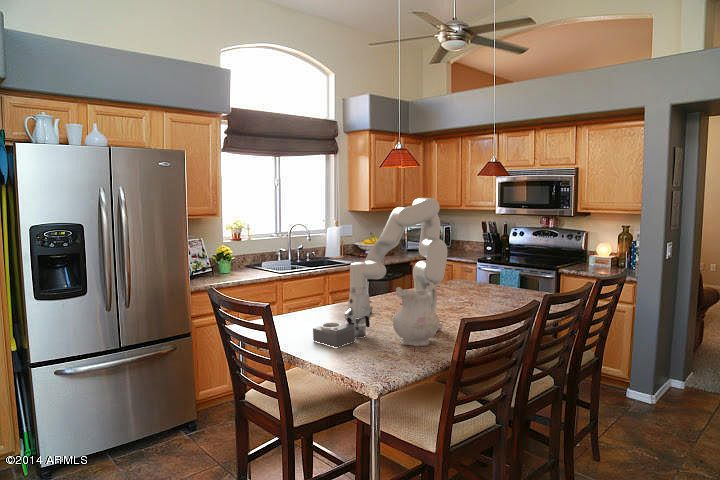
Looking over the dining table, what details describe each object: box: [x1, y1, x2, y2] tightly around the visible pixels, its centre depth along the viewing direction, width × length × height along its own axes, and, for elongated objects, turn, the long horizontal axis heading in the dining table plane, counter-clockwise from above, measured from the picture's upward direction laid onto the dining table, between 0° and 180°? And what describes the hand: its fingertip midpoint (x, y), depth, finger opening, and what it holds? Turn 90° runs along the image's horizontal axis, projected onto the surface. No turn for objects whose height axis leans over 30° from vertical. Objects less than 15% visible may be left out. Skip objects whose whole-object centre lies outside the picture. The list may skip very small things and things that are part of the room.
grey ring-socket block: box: [312, 321, 356, 347], centre depth 209 cm, size 14×11×8 cm
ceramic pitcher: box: [392, 282, 440, 347], centre depth 207 cm, size 22×20×25 cm
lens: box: [353, 317, 367, 338], centre depth 217 cm, size 6×6×8 cm
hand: (359, 328), depth 217 cm, fingers open, 9 cm apart
